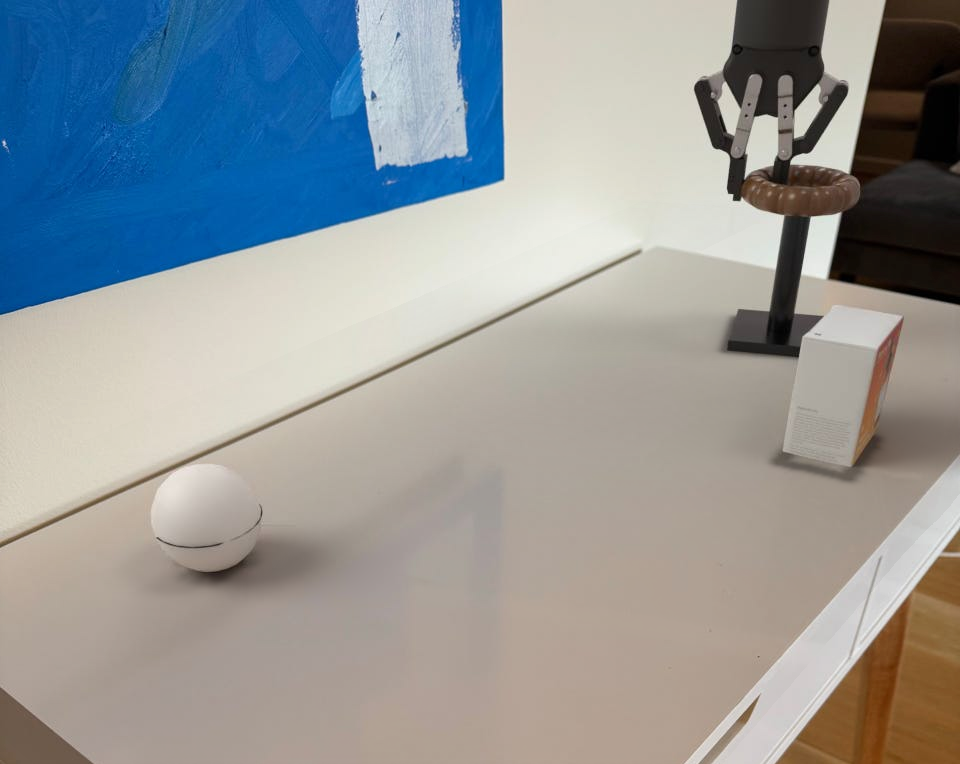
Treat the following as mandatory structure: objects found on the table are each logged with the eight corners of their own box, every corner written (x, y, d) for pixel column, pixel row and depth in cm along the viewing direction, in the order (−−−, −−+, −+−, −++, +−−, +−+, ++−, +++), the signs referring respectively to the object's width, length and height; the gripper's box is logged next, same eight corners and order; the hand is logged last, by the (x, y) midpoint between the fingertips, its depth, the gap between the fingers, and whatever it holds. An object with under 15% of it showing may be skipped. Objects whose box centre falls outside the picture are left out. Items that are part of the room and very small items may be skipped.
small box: (848, 481, 78) (878, 349, 71) (778, 464, 80) (801, 335, 74) (876, 440, 83) (907, 314, 77) (809, 425, 86) (833, 302, 79)
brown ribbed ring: (857, 192, 96) (862, 165, 94) (856, 223, 88) (862, 194, 86) (745, 185, 98) (749, 159, 97) (734, 215, 90) (738, 186, 89)
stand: (825, 327, 103) (850, 201, 96) (821, 361, 96) (847, 228, 89) (736, 319, 105) (753, 196, 98) (726, 352, 99) (743, 222, 91)
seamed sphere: (140, 579, 69) (114, 484, 65) (207, 527, 75) (187, 436, 70) (260, 613, 66) (241, 516, 61) (321, 556, 71) (308, 463, 67)
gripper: (694, -17, 82) (673, 206, 93) (873, -16, 79) (831, 216, 89) (706, -25, 88) (685, 186, 99) (874, -25, 84) (834, 194, 95)
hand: (755, 199), depth 94 cm, fingers closed on brown ribbed ring, 2 cm apart
